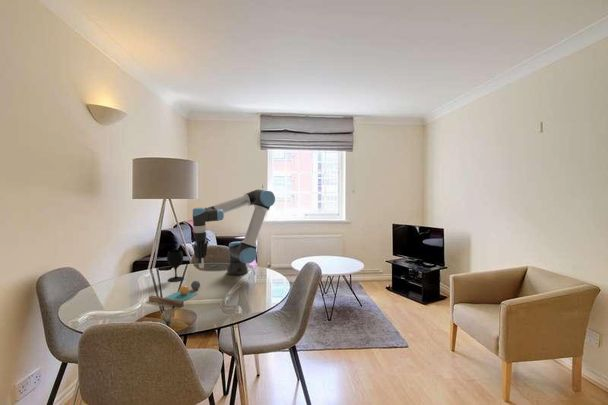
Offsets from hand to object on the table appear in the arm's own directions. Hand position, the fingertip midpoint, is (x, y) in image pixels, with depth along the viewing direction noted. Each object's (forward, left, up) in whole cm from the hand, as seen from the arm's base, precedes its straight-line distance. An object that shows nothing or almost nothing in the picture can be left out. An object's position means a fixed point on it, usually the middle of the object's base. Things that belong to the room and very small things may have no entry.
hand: (201, 267), depth 202 cm
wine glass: (-4, -26, -13) cm, 29 cm away
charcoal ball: (+6, 0, -10) cm, 11 cm away
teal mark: (+18, 0, -12) cm, 22 cm away
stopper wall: (+29, 0, -12) cm, 32 cm away
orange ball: (+15, 0, -10) cm, 18 cm away
